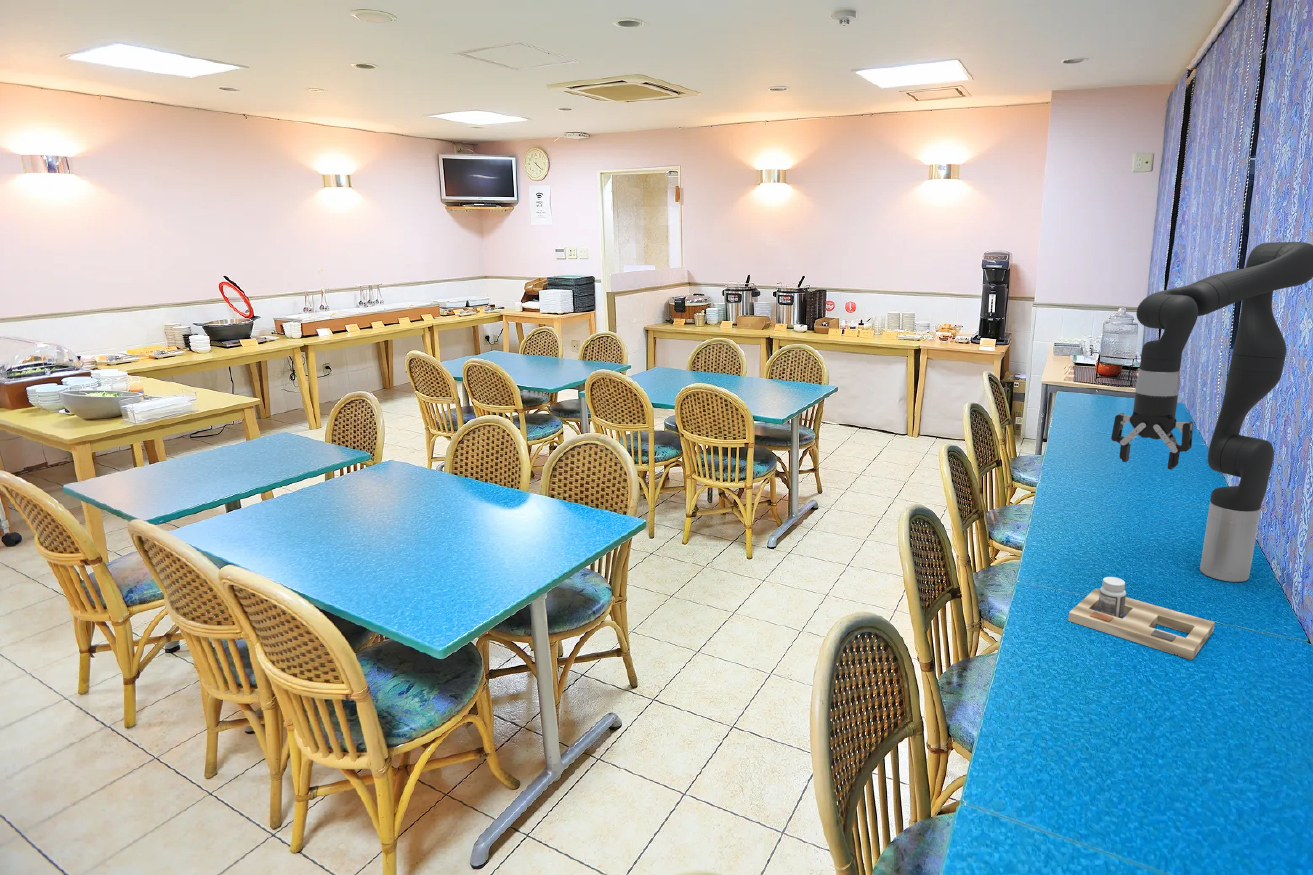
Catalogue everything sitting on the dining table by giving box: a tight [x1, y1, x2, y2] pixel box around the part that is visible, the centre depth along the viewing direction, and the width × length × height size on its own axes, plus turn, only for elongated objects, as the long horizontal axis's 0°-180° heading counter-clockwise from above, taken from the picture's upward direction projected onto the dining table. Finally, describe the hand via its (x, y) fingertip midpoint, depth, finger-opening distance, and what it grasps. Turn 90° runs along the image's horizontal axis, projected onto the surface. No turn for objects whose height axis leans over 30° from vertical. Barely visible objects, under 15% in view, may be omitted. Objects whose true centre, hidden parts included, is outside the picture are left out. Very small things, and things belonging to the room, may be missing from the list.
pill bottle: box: [1097, 576, 1127, 619], centre depth 157 cm, size 5×5×8 cm
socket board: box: [1067, 588, 1216, 661], centre depth 153 cm, size 15×22×2 cm
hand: (1147, 464), depth 160 cm, fingers open, 8 cm apart
